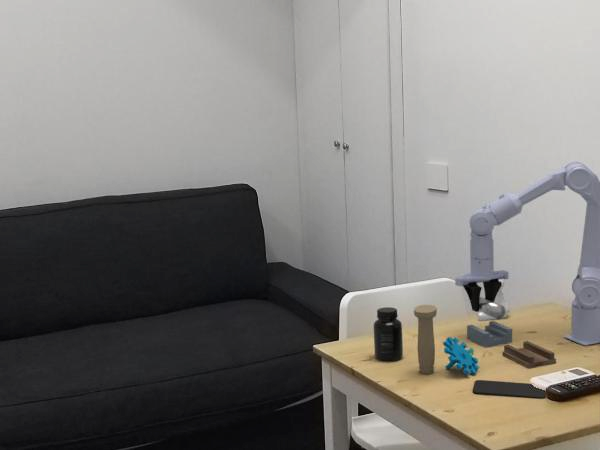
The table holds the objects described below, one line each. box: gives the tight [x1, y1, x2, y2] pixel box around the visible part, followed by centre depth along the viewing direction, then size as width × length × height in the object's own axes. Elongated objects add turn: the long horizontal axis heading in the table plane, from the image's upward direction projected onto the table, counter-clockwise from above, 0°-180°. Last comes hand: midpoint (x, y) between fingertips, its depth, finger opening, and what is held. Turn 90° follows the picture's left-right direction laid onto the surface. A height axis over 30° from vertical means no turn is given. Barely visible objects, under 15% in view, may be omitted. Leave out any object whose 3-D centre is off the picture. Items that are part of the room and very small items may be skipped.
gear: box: [442, 336, 480, 376], centre depth 185 cm, size 11×6×10 cm
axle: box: [479, 296, 505, 320], centre depth 204 cm, size 10×4×4 cm, turn 21°
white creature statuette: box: [477, 279, 510, 322], centre depth 224 cm, size 10×9×12 cm
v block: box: [466, 320, 513, 348], centre depth 204 cm, size 8×8×4 cm
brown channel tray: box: [502, 340, 557, 369], centre depth 190 cm, size 8×10×2 cm
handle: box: [413, 304, 438, 375], centre depth 184 cm, size 5×6×15 cm
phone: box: [472, 379, 547, 400], centre depth 172 cm, size 7×1×15 cm
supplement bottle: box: [373, 306, 404, 362], centre depth 195 cm, size 7×7×12 cm
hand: (482, 309), depth 206 cm, fingers closed on axle, 3 cm apart
